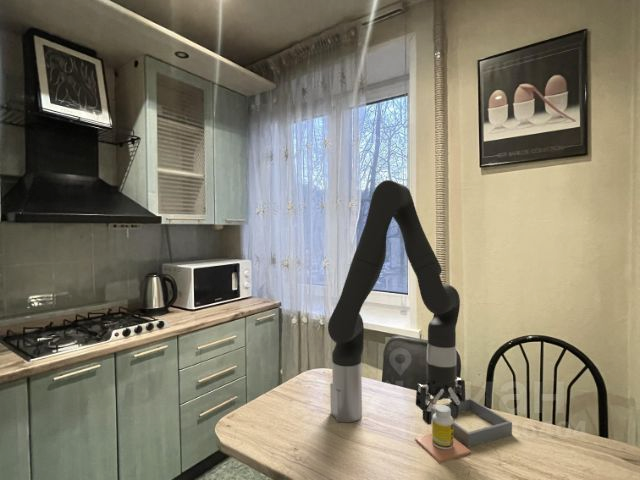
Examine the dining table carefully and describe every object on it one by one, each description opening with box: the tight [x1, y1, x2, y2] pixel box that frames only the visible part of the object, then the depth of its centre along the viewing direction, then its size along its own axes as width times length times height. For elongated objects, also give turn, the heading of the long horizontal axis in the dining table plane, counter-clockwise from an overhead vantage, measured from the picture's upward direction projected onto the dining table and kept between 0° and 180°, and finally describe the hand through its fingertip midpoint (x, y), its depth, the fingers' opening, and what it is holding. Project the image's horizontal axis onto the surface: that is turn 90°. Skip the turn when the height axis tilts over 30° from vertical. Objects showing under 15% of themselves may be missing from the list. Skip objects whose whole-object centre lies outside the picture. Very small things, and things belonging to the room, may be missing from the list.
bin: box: [431, 397, 513, 448], centre depth 102 cm, size 16×16×4 cm
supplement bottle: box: [431, 404, 454, 450], centre depth 92 cm, size 5×5×10 cm
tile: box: [415, 433, 472, 463], centre depth 92 cm, size 10×10×1 cm
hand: (440, 420), depth 92 cm, fingers open, 8 cm apart
